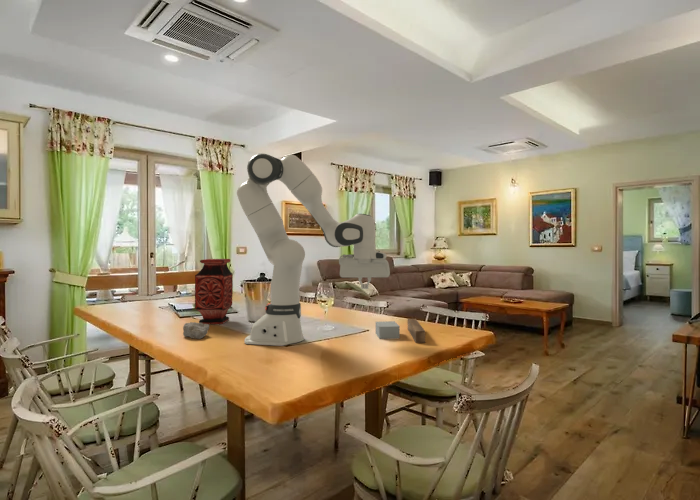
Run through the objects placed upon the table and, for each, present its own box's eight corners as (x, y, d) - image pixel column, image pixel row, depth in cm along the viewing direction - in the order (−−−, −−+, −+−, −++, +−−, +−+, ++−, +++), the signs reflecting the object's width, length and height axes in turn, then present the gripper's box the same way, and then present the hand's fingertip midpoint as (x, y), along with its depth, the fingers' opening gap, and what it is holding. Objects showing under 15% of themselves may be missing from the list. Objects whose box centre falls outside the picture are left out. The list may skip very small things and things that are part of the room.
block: (379, 339, 157) (379, 326, 157) (375, 333, 167) (375, 321, 167) (399, 339, 158) (399, 326, 158) (394, 333, 168) (394, 321, 168)
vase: (224, 325, 185) (223, 259, 184) (194, 325, 185) (193, 259, 184) (233, 319, 199) (232, 258, 198) (205, 319, 199) (205, 258, 198)
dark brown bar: (415, 343, 150) (415, 331, 150) (407, 329, 174) (407, 318, 174) (425, 343, 150) (425, 331, 150) (415, 329, 174) (415, 318, 174)
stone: (177, 339, 158) (177, 324, 158) (188, 334, 166) (188, 320, 166) (201, 340, 157) (201, 325, 157) (211, 335, 165) (211, 321, 165)
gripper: (338, 254, 159) (338, 289, 159) (390, 254, 159) (390, 289, 159) (339, 254, 165) (339, 287, 166) (389, 254, 165) (389, 287, 165)
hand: (364, 288), depth 162 cm, fingers closed
